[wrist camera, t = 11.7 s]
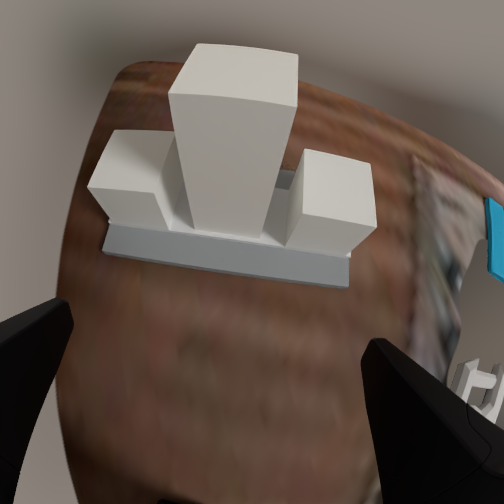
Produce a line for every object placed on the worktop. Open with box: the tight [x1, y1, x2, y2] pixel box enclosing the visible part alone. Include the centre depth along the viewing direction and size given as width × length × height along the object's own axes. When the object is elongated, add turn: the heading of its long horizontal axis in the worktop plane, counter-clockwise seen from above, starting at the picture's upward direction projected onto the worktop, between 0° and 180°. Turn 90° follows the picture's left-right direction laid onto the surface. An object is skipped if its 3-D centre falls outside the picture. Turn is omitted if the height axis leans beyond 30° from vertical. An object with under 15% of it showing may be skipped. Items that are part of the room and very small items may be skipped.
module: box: [168, 44, 298, 239], centre depth 16 cm, size 5×5×13 cm
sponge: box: [485, 197, 504, 283], centre depth 26 cm, size 2×12×6 cm
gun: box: [450, 358, 504, 424], centre depth 17 cm, size 18×4×10 cm
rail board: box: [87, 130, 377, 289], centre depth 20 cm, size 10×20×7 cm, turn 83°
